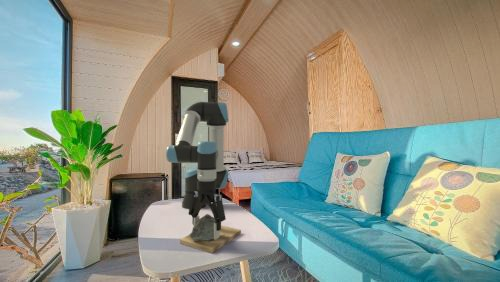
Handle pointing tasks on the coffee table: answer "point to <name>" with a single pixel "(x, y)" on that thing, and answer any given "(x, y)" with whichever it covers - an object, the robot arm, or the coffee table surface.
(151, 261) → the coffee table surface
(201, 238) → the stone
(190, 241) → the board
